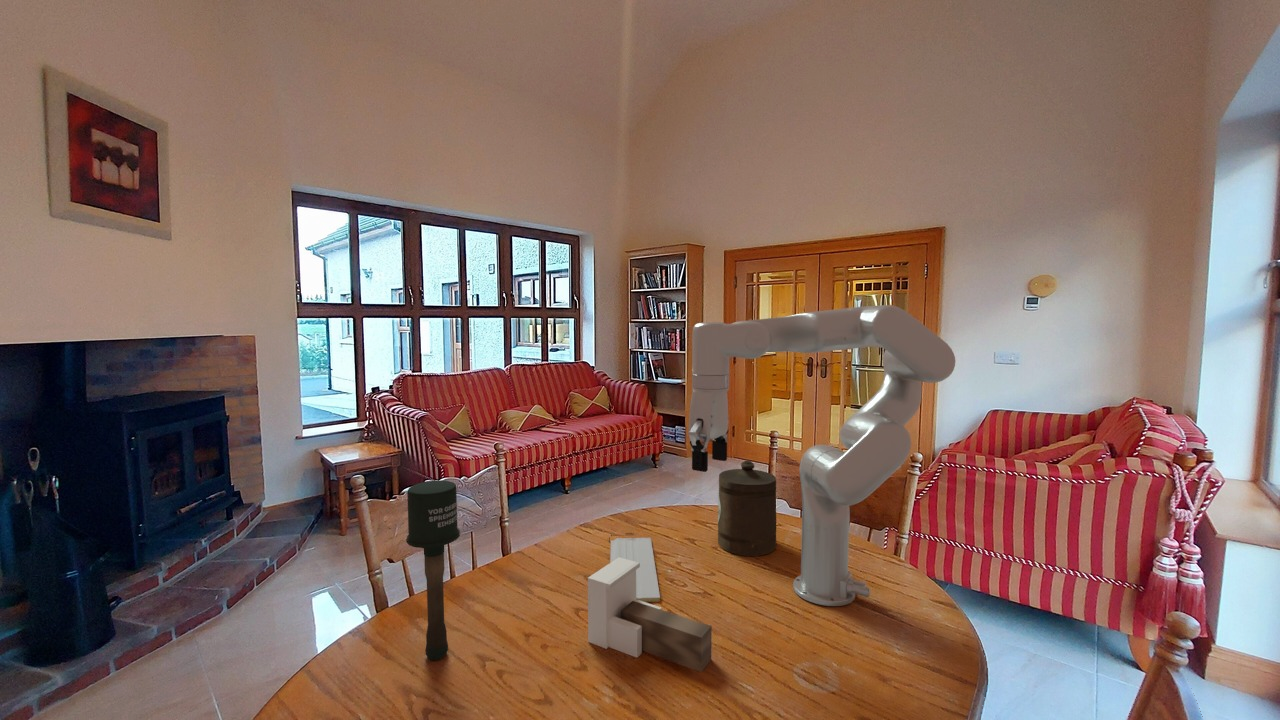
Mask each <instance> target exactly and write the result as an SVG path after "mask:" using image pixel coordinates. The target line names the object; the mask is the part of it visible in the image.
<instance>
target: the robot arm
mask: <svg viewBox="0 0 1280 720" xmlns="http://www.w3.org/2000/svg"><path fill="white" fill-rule="evenodd" d="M691 342H692V343H691V344H692V346H691V347H692V353H691V355H692V362H691V363H692V365H691V366H692V367H691V368H692V369H691V373H692V375H691V376H692V378H691V381H692V382H691V388H692V389H691V390H692V393H691V397H690V398H691V399H690V404H689V405H690V406H689V415H688V417H689V419H688V437H689V440H690V441H689V445H690V449H691V469H692V470H693V471H696V472H703V473H706V472H707V471H708V470H709V467H708V466H709V465H708V464H709V462H708V461H709V457H708V456H709V452H708V451H707V447H708V445H709V442H710V441H711V443H712V444H711V449H712V450H711V451H712V452H711V459H712V460H716V461H720V462H721V461H722V462H725V461H727V460H728V439H729V437H728V433H729V425H730V419H729V400H728V391H730V359H731V358H732V357H733V358H740V359H741V358H742V359H748V360H749V359H750V360H752V359H753V360H754V359H758V358H761V357H762V356H764V355H765V354H767V353H776V352H777V353H778V352H779V353H780V352H781V353H782V352H789V353H791V352H792V353H801V354H802V353H803V354H813V353H814V354H816V353H817V354H818V353H826V352H835V351H842V350H852V349H860V348H871V347H874V348H883V349H884V353H883V357H882V358H883V359H882V363H883V365H882V366H883V381H882V383H881V386H880V388H879V389H878V390H877V391H876V393H874V395H872V397H871V398H870V399H868V401H867V402H865V403H864V405H862V406H861V407H860V408H859V409H858V410H857V411H855V413H853V414H852V415H851V416H850V417H849V418H848V419H847V420H846V421H845V422H844V423H843V425H842V426H841V428H840V430H839V438H840V442H841V443H842V445H843V446H844V447H845V449H847V450H846V451H843V450H841V449H839V448H837V447H835V446H832V445H828V444H817V445H813V446H811V447H809V448H808V449H806V451H805V452H804V453H803V455H802V456H801V459H800V463H799V480H800V487H801V488H800V489H801V501H802V502H801V505H802V506H801V507H802V509H801V510H802V511H801V546H800V547H801V551H800V575H798V576H796V577H795V578H794V580H793V584H792V586H793V587H792V588H793V591H794V592H795V594H796V595H798V596H799V597H801V598H802V599H803V600H805V601H807V602H809V603H812V604H816V605H819V606H820V605H821V606H827V607H840V606H846V605H849V604H850V603H852V602H854V600H855V598H856V595H858V596H861V597H865V598H870V594H871V588H870V587H868V586H867V585H866V582H864V581H860V580H855V579H854V578H852V571H851V570H850V571H849V549H850V548H849V546H850V545H849V544H850V517H851V516H850V506H853V505H856V504H858V503H861V502H863V501H864V500H865V499H866V498H868V497H869V496H871V494H873V492H875V491H876V490H877V489H879V488H880V486H881V485H882V484H883V483H884V482H885V481H887V480H888V479H889V478H890V477H891V476H892V475H893V474H894V473H895V472H896V471H897V470H898V469H899V468H900V467H901V466H902V465H903V464H904V463H905V461H906V460H907V459H908V456H909V454H910V453H911V452H910V451H911V447H912V440H911V439H912V437H911V435H910V432H909V431H908V429H907V428H906V426H905V425H907V424H908V422H909V421H911V419H912V418H913V417H914V416H915V415H916V414H917V412H918V410H919V408H920V406H921V402H922V395H923V394H922V393H923V391H922V389H923V388H922V387H923V385H922V384H923V383H928V384H929V383H930V384H933V383H934V384H935V383H941V382H942V381H944V380H946V379H948V378H949V377H950V376H951V375H952V374H953V372H954V370H955V367H956V356H955V354H954V351H953V349H952V348H951V346H950V345H948V343H947V342H946V341H945V340H943V338H941V337H940V336H939V335H937V334H936V333H935V332H933V331H932V330H930V328H928V327H927V326H926V325H924V323H922V322H921V321H919V320H918V319H917V318H915V316H913V315H911V314H910V313H909V312H907V311H906V310H904V309H903V308H900V307H899V306H895V305H890V304H885V305H884V304H883V305H882V304H881V305H867V306H866V305H865V306H857V307H847V308H836V309H829V310H827V309H826V310H818V311H810V312H802V313H796V314H792V315H786V316H785V315H784V316H778V317H770V318H769V317H768V318H760V319H758V318H757V319H750V320H741V321H740V320H739V321H735V322H733V323H725V322H706V321H705V322H698V323H696V324H694V326H693V327H692V341H691Z"/></svg>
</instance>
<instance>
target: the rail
mask: <svg viewBox="0 0 1280 720" xmlns="http://www.w3.org/2000/svg"><path fill="white" fill-rule="evenodd" d="M621 619H623V620H626V621H629V622H632V623H635V624H638V625H641V626H642V651H643V652H646V653H648V654H651V655H653V656H657V657H659V658H662V659H665V660H667V661H670V662H672V663H675V664H677V665H680V666H684V667H686V668H688V669H692V670H693V671H697V672H700V673H702V672H703V671H704V670H705V668H707V666H708V665H709V663H710V662H711V660H712V635H713V634H712V631H713V630H712V627H713V626H712V625H710V624H707V623H704V622H700V621H698V620H694V619H692V618H688V617H685V616H682V615H679V614H675V613H672V612H668V611H667V610H663V609H662V610H660V609H657V608H654V607H651V606H648V605H645V604H642V603H638V602H635V601H632V602H631V603H629V604H628V605H627V606H626V607H624V608H623V609H622V610H621Z"/></svg>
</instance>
